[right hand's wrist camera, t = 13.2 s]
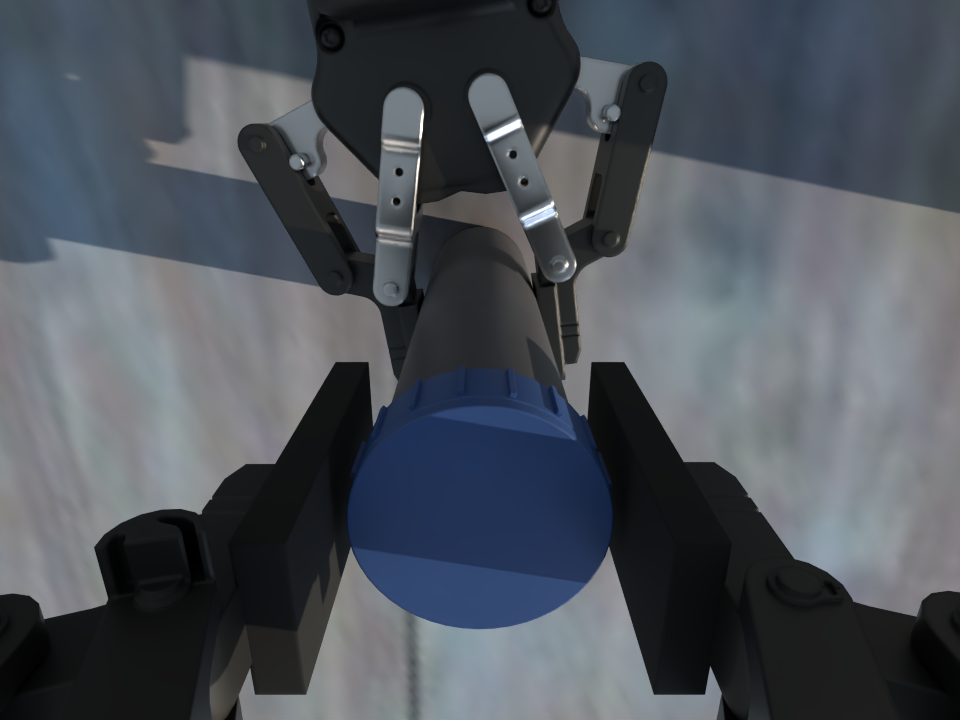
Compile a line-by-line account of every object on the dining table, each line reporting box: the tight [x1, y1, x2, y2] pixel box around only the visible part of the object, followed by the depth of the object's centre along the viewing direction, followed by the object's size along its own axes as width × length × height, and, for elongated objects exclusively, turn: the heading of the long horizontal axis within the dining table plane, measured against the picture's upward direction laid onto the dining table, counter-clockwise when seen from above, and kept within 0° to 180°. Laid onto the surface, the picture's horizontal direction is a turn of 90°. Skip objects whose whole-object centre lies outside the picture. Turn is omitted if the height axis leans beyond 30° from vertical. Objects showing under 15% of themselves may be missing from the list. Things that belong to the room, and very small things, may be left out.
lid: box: [346, 366, 614, 629], centre depth 11 cm, size 5×5×2 cm
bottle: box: [392, 227, 568, 402], centre depth 20 cm, size 4×4×19 cm
